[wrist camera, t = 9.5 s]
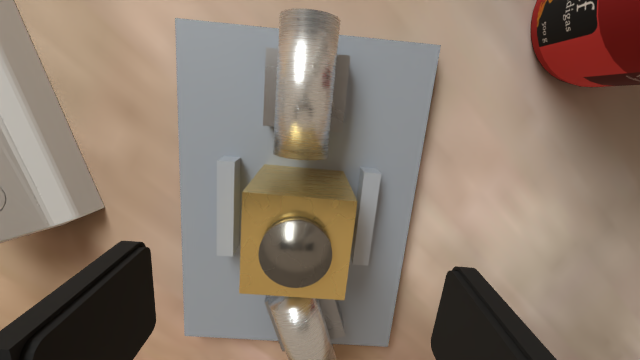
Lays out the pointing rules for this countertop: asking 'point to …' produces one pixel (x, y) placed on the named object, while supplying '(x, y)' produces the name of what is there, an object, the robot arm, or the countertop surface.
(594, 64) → the canned food
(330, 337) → the shaft
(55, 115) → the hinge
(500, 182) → the countertop surface
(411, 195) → the board
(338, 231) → the coupler
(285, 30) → the shaft
